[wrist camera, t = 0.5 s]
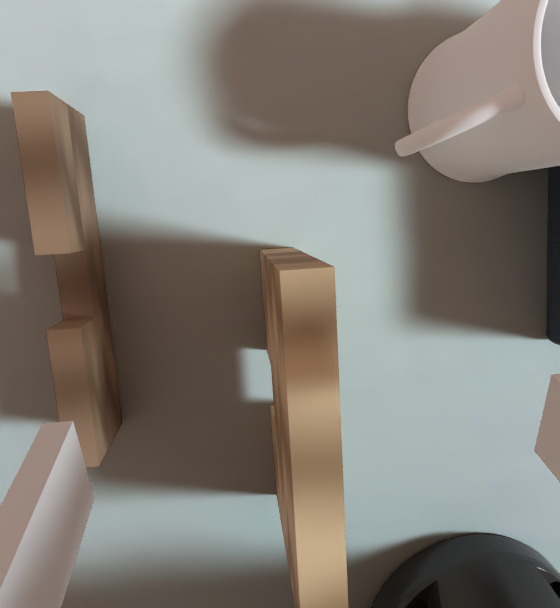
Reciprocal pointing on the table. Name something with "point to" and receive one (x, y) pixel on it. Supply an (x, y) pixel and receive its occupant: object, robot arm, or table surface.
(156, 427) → the table surface
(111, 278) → the table surface
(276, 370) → the cross plate
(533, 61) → the mug
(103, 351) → the standing plate
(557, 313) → the vhs cassette tape
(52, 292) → the table surface
